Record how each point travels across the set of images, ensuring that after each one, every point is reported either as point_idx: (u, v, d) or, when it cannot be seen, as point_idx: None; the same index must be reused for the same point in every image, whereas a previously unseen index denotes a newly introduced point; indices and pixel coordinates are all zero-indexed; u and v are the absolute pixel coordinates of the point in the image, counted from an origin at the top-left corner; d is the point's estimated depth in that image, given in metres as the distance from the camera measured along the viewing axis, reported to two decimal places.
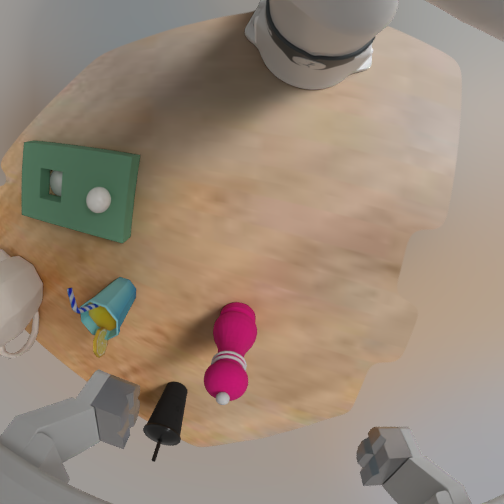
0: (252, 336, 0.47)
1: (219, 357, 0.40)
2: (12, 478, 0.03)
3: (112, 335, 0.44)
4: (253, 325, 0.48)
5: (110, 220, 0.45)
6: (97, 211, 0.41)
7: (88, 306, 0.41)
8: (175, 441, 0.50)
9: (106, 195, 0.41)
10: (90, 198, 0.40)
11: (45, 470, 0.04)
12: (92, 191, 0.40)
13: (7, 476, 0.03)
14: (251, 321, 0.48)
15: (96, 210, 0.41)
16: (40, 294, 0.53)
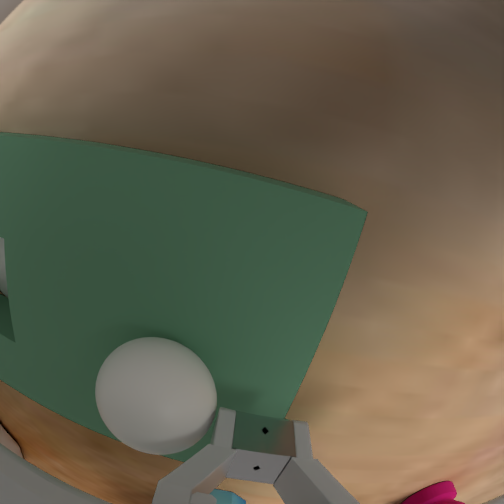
0: None
1: None
2: (12, 478, 0.03)
3: None
4: None
5: None
6: None
7: None
8: None
9: (188, 410, 0.07)
10: (102, 403, 0.07)
11: None
12: (116, 369, 0.07)
13: (7, 476, 0.03)
14: None
15: (137, 449, 0.08)
16: None
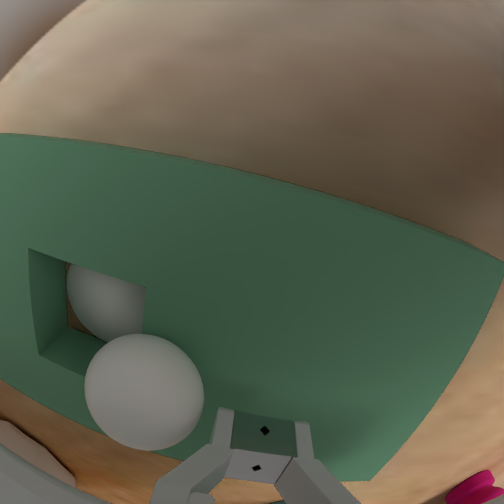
0: None
1: None
2: (12, 478, 0.03)
3: None
4: None
5: (358, 450, 0.12)
6: None
7: None
8: None
9: None
10: None
11: None
12: (187, 370, 0.08)
13: (7, 476, 0.03)
14: None
15: None
16: None
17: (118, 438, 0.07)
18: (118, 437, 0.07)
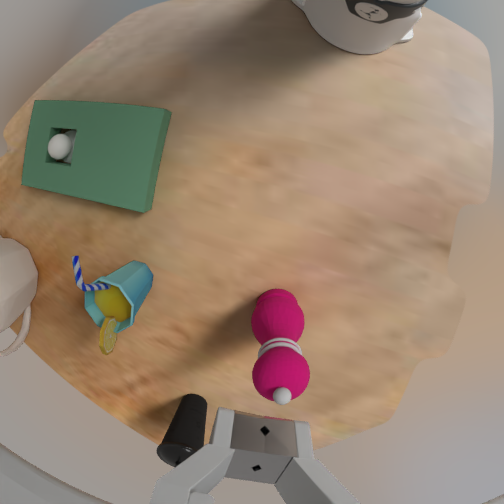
0: (301, 325, 0.38)
1: (271, 345, 0.32)
2: (12, 478, 0.03)
3: (124, 326, 0.36)
4: (301, 312, 0.40)
5: (130, 185, 0.38)
6: (52, 155, 0.36)
7: (96, 284, 0.32)
8: None
9: (61, 139, 0.36)
10: (49, 142, 0.36)
11: None
12: (53, 136, 0.36)
13: (7, 476, 0.03)
14: (299, 307, 0.40)
15: (51, 154, 0.36)
16: (34, 284, 0.44)
17: None
18: None
